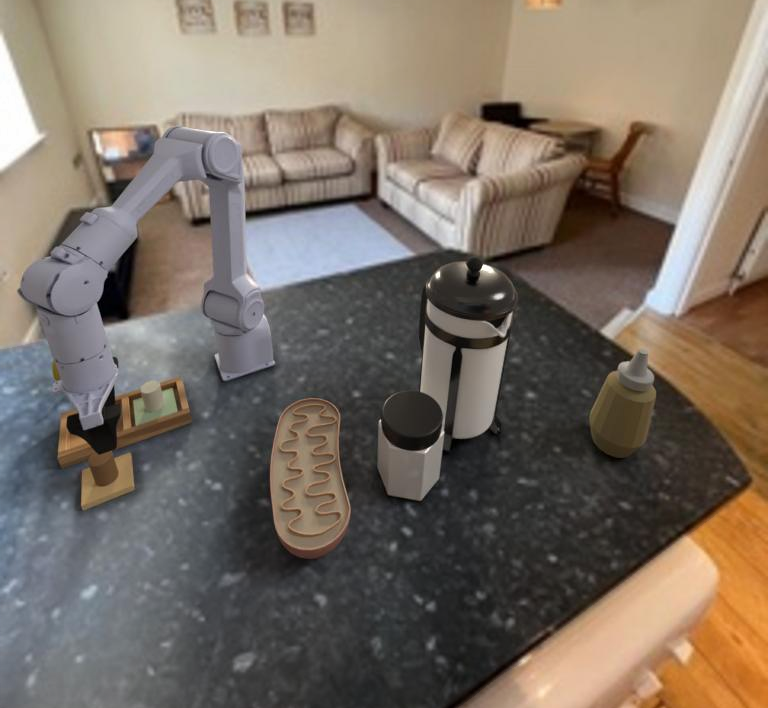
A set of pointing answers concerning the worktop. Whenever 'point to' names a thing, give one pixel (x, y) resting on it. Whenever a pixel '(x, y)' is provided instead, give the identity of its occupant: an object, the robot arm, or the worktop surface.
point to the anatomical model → (308, 479)
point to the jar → (410, 444)
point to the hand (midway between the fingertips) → (107, 428)
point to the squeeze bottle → (624, 408)
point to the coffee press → (465, 344)
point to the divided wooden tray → (125, 425)
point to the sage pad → (156, 415)
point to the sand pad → (111, 490)
